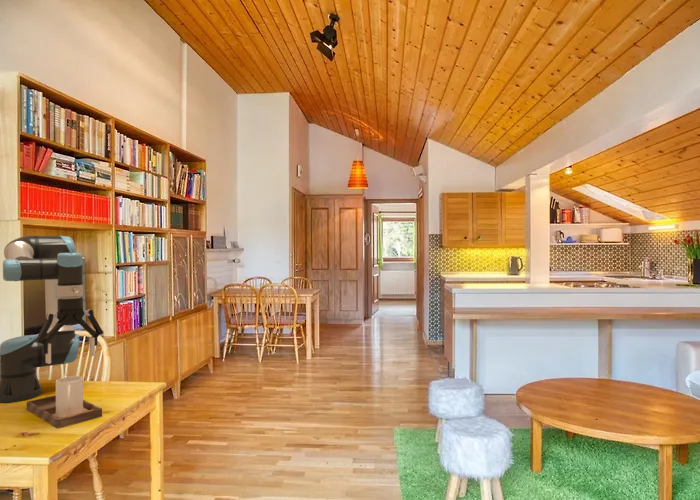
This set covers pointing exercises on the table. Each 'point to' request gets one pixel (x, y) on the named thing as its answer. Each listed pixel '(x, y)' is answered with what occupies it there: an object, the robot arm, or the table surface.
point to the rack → (48, 409)
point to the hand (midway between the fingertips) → (70, 359)
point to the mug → (69, 396)
